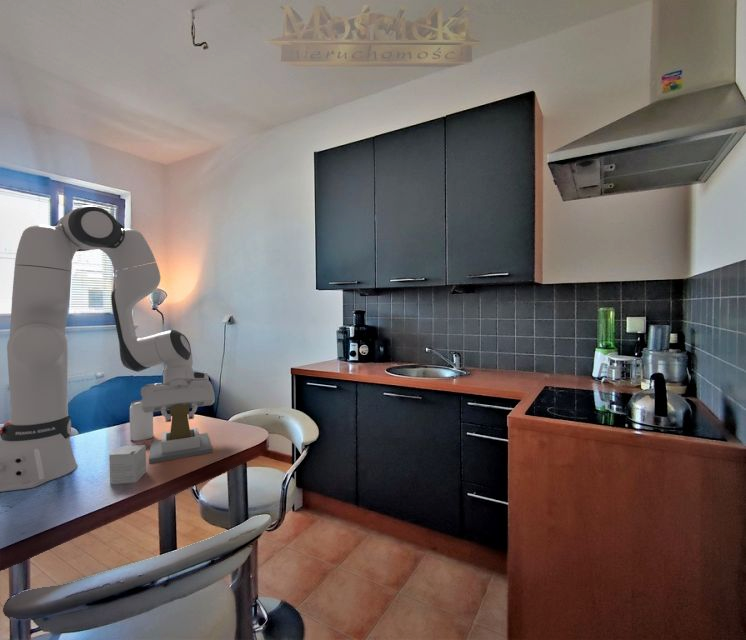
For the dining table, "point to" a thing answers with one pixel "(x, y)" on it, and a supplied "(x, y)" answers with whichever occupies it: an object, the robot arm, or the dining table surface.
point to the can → (140, 422)
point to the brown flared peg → (179, 422)
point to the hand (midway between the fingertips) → (180, 419)
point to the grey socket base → (179, 446)
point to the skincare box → (127, 464)
